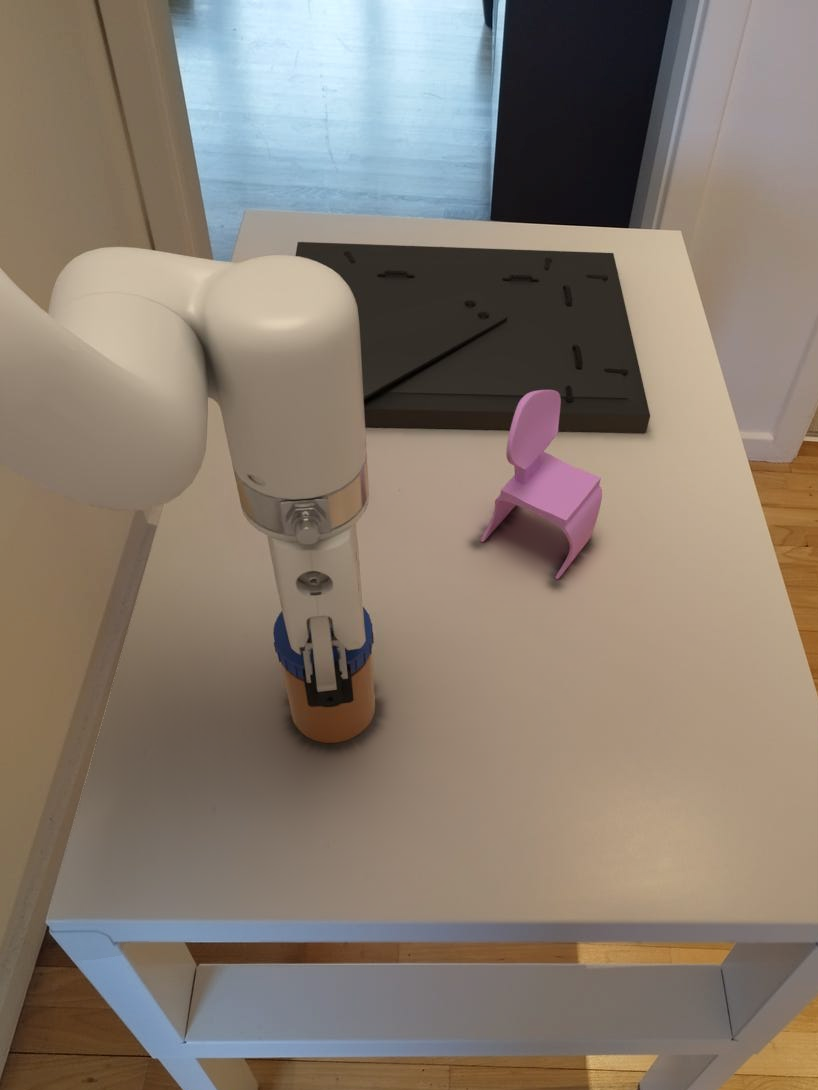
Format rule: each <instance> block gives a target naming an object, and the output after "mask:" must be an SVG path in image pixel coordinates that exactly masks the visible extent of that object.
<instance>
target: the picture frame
mask: <svg viewBox="0 0 818 1090" xmlns="http://www.w3.org/2000/svg"><path fill="white" fill-rule="evenodd" d="M294 256H298V257H303V258H307V259H311V260H313V261H316V262H319V263H321V264H323V265H325V266H327V267H329V268H331V269H332V270H334V271H335V272H336V273H337V274H339V275H340V276H341V277H342V279H343V280H344V281H345V282H346V283H347V284H348V286H349V288H350V289H351V291H352V293H353V296H354V298H355V300H356V304H357V308H358V316H359V326H360V344H361V362H362V380H363V398H364V416H365V428H367V427H368V428H403V429H404V428H406V429H407V428H408V429H409V428H410V429H450V430H451V429H453V430H454V429H455V430H495V431H496V430H499V431H502V430H503V431H504V430H505V431H510V428H511V424H512V421H513V417H514V414H515V411H516V408H517V406H518V404H519V402H520V400H521V399H522V398H523V397H524V396H525V395H526V394H528V393H530V392H533V391H538V390H555V391H557V392H558V393H559V394H560V398H561V405H560V415H559V425H558V432H588V433H628V434H629V433H630V434H631V433H633V434H635V433H636V434H645V433H647V430H648V427H649V423H650V419H651V413H650V408H649V404H648V400H647V396H646V391H645V386H644V382H643V378H642V377H643V376H642V373H641V369H640V364H639V360H638V356H637V351H636V346H635V342H634V337H633V333H632V329H631V324H630V320H629V316H628V312H627V311H628V310H627V307H626V302H625V297H624V293H623V290H622V289H623V288H622V284H621V280H620V276H619V271H618V267H617V263H616V262H617V261H616V258H615V254H614V253H613V252H601V251H599V252H597V251H595V252H594V251H568V250H567V251H566V250H541V249H539V250H538V249H511V248H485V247H481V248H480V247H479V248H478V247H457V246H456V247H455V246H453V247H452V246H426V245H425V246H424V245H400V244H397V245H396V244H369V243H343V242H342V243H340V242H311V241H297V245H296V249H295V255H294Z"/></svg>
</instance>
